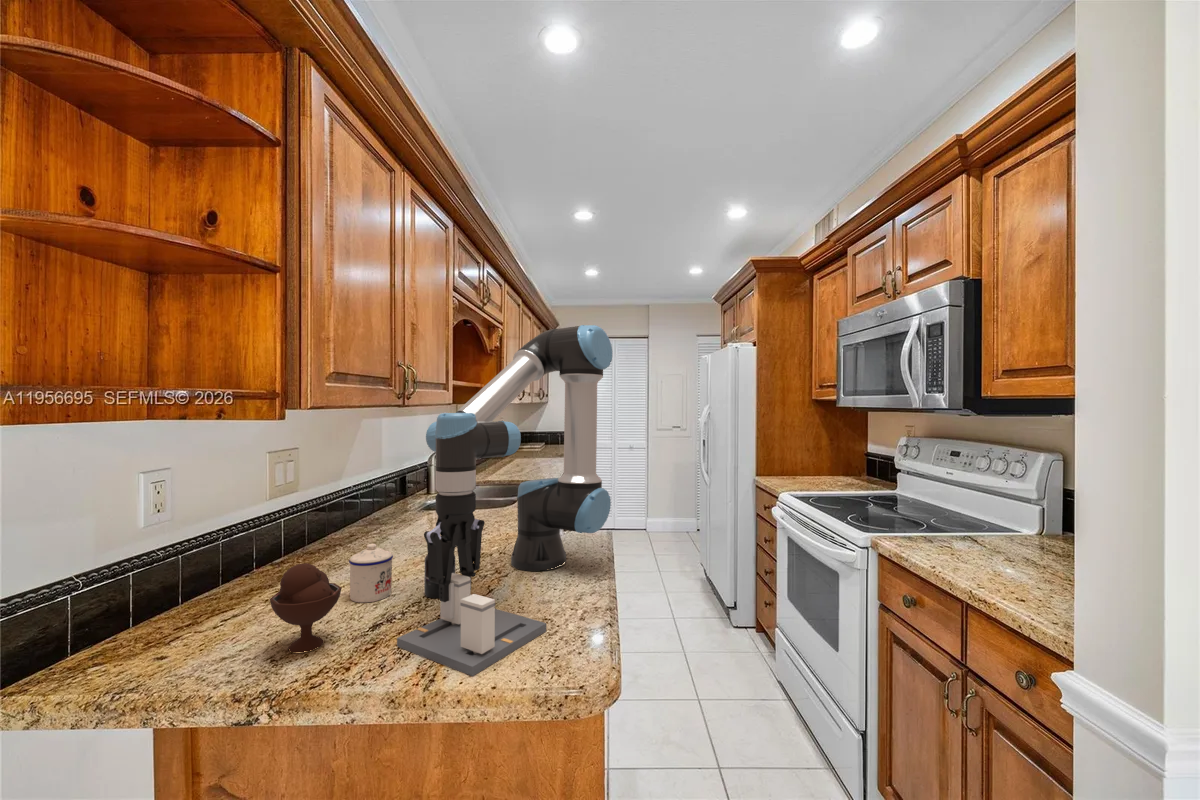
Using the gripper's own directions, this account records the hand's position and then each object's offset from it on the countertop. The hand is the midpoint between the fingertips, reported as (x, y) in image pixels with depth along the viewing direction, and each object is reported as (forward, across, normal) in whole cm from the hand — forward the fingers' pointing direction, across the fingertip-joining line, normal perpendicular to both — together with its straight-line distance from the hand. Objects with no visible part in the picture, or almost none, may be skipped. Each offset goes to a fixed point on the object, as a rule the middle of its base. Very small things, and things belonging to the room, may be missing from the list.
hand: (455, 613), depth 96 cm
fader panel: (+3, +1, +6) cm, 7 cm away
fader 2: (+3, +6, +12) cm, 14 cm away
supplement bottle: (+3, -11, -18) cm, 21 cm away
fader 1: (+3, 0, 0) cm, 3 cm away
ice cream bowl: (+3, +19, -18) cm, 26 cm away
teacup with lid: (+3, -3, -30) cm, 31 cm away
